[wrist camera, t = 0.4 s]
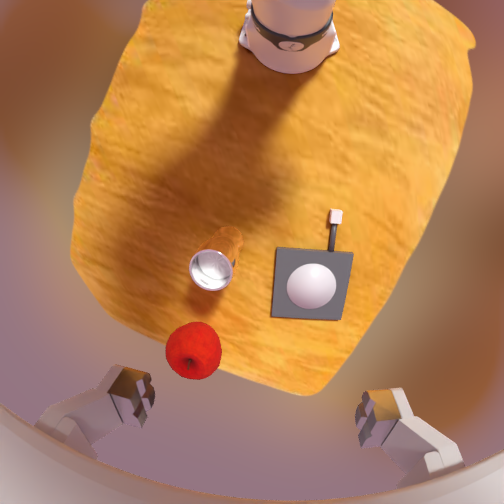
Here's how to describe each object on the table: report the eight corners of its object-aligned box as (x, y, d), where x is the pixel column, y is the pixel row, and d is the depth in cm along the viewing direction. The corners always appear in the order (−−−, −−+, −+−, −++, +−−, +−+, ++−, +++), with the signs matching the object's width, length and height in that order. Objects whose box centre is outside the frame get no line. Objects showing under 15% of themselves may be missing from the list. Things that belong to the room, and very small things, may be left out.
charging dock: (280, 204, 51) (280, 206, 49) (358, 211, 50) (360, 213, 48) (271, 313, 59) (271, 317, 57) (339, 317, 57) (341, 321, 56)
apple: (176, 343, 64) (157, 379, 51) (179, 303, 60) (157, 338, 48) (223, 355, 64) (212, 395, 51) (231, 316, 60) (219, 355, 47)
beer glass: (216, 260, 56) (196, 295, 42) (206, 228, 54) (181, 253, 40) (250, 253, 55) (239, 287, 41) (240, 219, 53) (226, 243, 39)
